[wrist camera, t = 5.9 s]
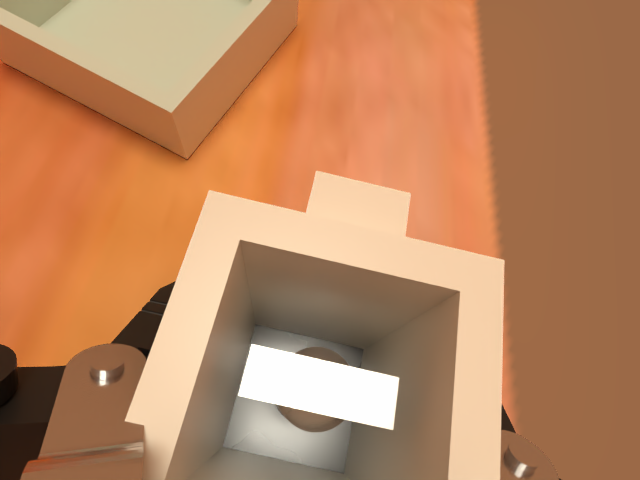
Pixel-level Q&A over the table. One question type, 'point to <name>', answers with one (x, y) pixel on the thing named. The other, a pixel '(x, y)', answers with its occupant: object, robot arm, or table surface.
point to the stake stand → (306, 399)
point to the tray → (147, 57)
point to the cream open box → (328, 336)
